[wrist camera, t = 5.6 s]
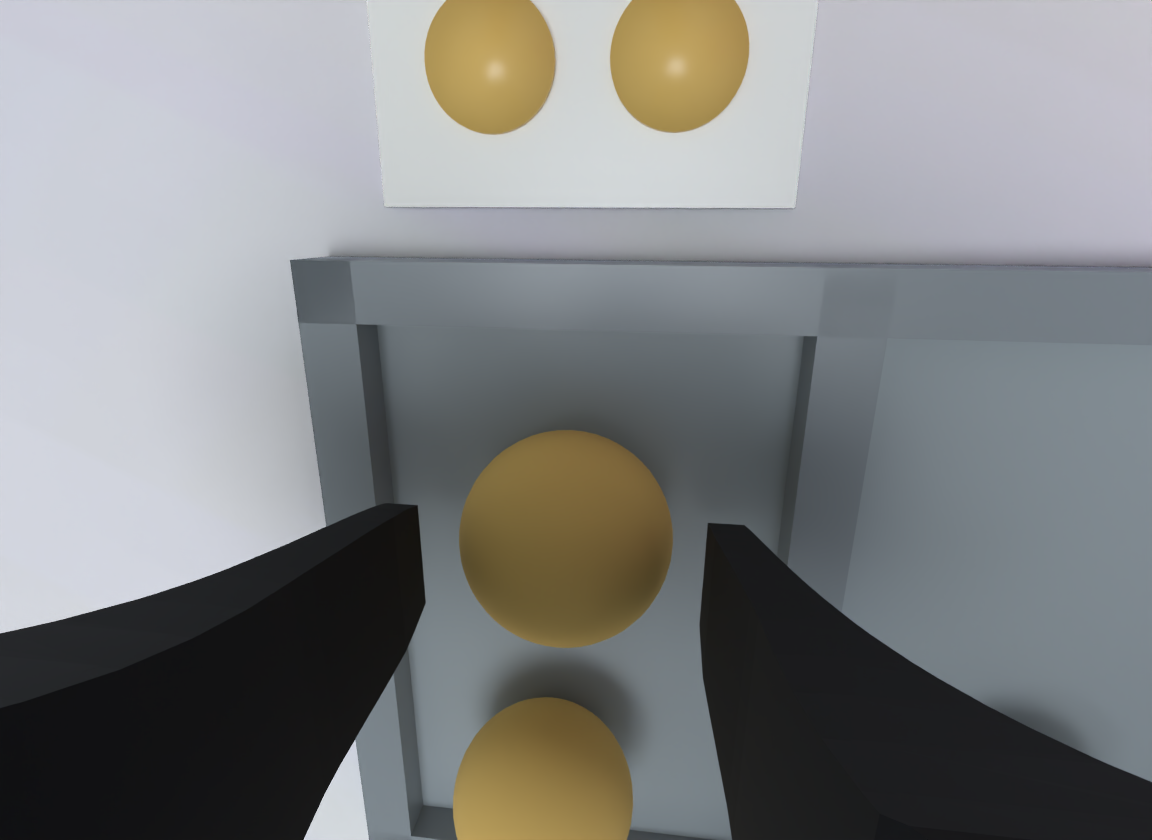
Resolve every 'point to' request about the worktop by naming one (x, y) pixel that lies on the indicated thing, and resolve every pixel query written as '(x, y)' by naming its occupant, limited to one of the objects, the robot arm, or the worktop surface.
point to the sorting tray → (755, 485)
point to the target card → (591, 102)
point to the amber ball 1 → (565, 538)
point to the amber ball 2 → (543, 777)
